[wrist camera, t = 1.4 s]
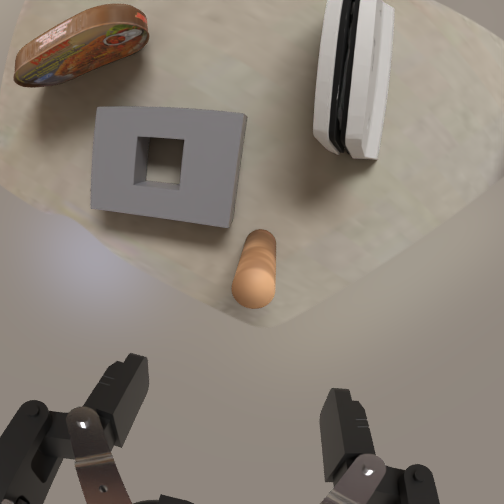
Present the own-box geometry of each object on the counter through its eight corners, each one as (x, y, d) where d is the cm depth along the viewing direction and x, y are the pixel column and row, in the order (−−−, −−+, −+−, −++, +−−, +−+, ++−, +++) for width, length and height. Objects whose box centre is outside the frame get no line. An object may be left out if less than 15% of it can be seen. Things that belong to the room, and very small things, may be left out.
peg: (278, 232, 31) (278, 273, 21) (273, 260, 32) (271, 311, 22) (247, 227, 31) (234, 266, 21) (243, 255, 32) (229, 304, 22)
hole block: (247, 116, 27) (243, 113, 24) (232, 219, 31) (228, 228, 28) (111, 108, 27) (97, 107, 25) (105, 202, 31) (90, 208, 28)
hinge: (376, 163, 28) (372, 163, 19) (329, 153, 29) (303, 148, 20) (394, 12, 22) (391, -40, 13) (349, 5, 23) (329, -46, 15)
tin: (47, 91, 27) (-3, 87, 19) (45, 68, 26) (-3, 60, 18) (162, 45, 25) (125, 19, 17) (159, 20, 24) (124, -11, 16)
